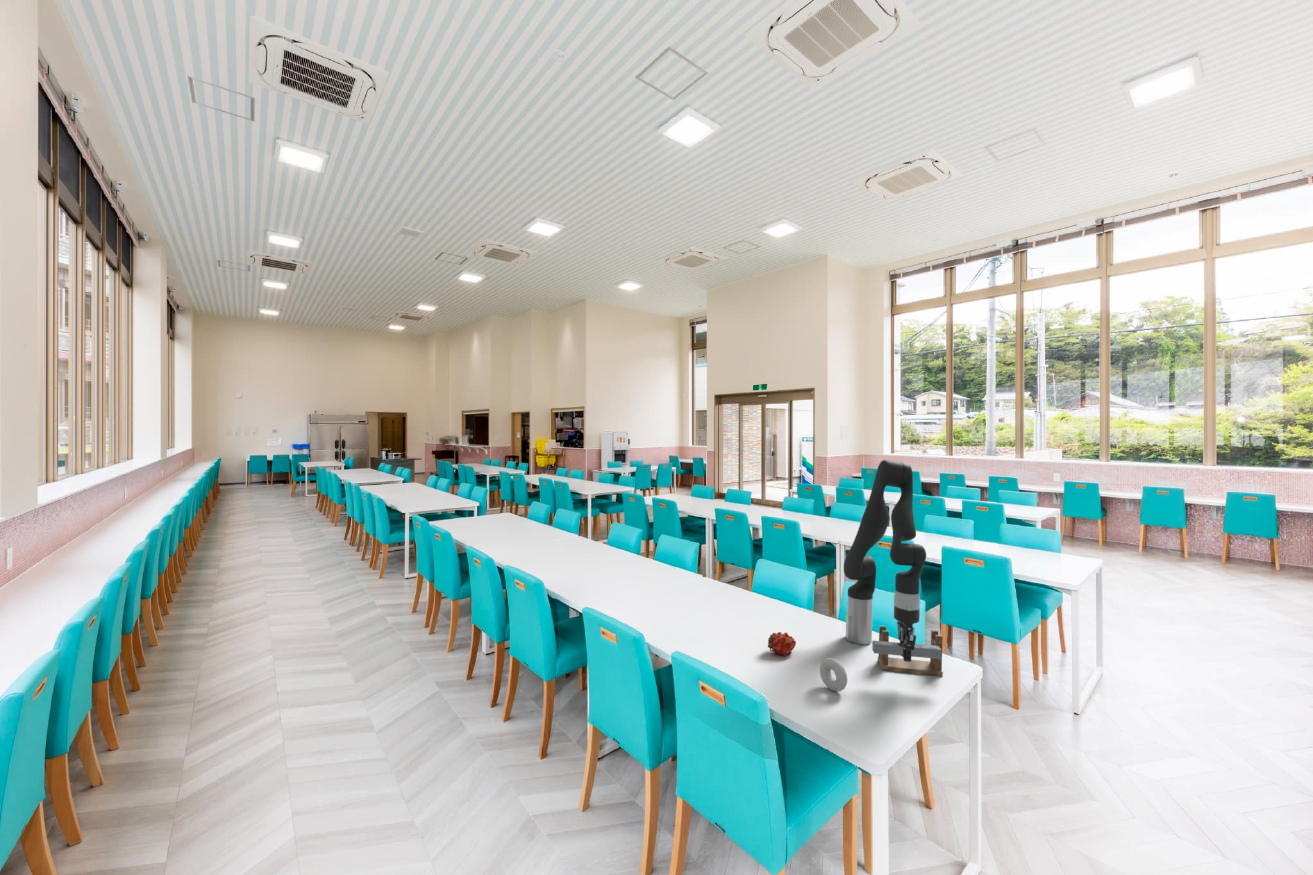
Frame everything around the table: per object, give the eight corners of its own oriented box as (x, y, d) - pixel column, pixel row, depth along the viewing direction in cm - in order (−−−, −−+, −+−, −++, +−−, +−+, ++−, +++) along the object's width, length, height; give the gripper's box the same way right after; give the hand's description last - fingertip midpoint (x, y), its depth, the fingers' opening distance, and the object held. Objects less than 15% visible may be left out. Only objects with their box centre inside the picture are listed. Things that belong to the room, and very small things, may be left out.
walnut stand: (882, 670, 184) (883, 632, 184) (877, 660, 192) (878, 624, 191) (942, 676, 180) (943, 637, 180) (935, 666, 188) (936, 629, 188)
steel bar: (874, 653, 173) (874, 643, 173) (872, 649, 176) (872, 640, 176) (941, 659, 169) (941, 649, 169) (938, 655, 172) (938, 645, 172)
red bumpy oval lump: (764, 658, 195) (792, 659, 199) (776, 652, 188) (805, 653, 192) (760, 635, 200) (787, 636, 204) (772, 628, 193) (799, 629, 197)
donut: (816, 684, 172) (817, 653, 172) (824, 682, 174) (825, 651, 174) (841, 698, 164) (842, 666, 164) (849, 695, 165) (850, 663, 165)
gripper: (889, 598, 180) (888, 649, 180) (899, 611, 167) (898, 666, 167) (913, 599, 179) (912, 651, 179) (925, 613, 165) (924, 669, 165)
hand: (905, 658), depth 173 cm, fingers closed on steel bar, 3 cm apart
